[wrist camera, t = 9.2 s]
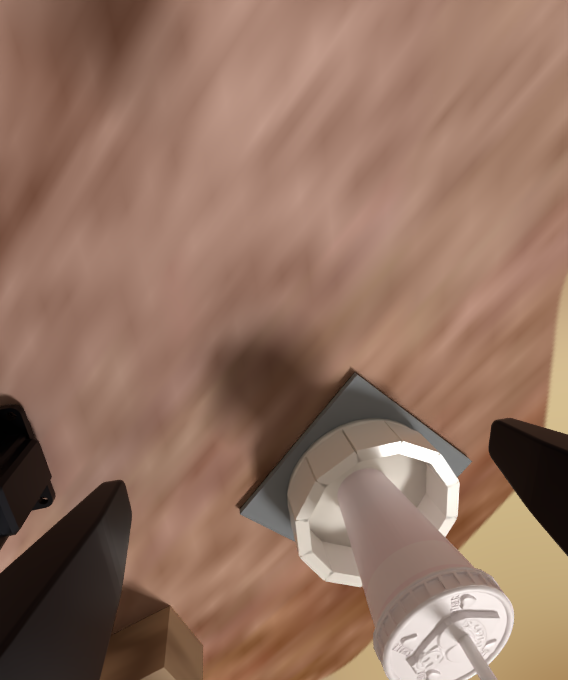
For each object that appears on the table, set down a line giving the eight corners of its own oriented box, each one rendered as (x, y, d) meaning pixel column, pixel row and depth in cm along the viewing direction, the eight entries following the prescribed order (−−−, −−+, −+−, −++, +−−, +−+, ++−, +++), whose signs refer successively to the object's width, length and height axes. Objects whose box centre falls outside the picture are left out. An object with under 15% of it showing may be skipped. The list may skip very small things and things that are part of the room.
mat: (363, 572, 29) (365, 576, 28) (239, 509, 25) (240, 514, 24) (468, 458, 27) (472, 461, 27) (355, 372, 23) (357, 374, 23)
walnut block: (142, 674, 28) (132, 745, 24) (104, 636, 26) (87, 706, 22) (203, 643, 28) (202, 708, 24) (170, 603, 26) (164, 667, 23)
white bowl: (294, 562, 27) (304, 602, 24) (279, 435, 23) (288, 464, 20) (430, 528, 28) (454, 562, 25) (434, 404, 25) (462, 428, 22)
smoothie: (419, 499, 26) (630, 772, 13) (341, 545, 26) (476, 868, 13) (386, 433, 24) (601, 685, 11) (301, 483, 24) (415, 800, 11)
